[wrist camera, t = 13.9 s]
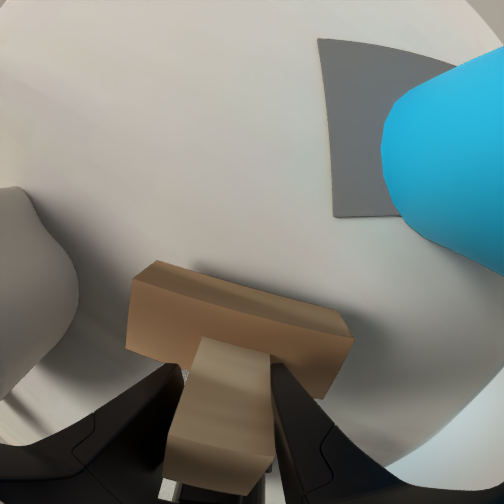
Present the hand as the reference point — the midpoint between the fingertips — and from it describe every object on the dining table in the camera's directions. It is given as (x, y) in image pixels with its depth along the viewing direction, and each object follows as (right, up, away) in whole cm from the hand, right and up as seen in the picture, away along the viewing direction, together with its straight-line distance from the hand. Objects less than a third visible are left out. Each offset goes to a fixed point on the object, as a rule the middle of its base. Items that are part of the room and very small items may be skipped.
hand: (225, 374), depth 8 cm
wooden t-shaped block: (0, 0, +4) cm, 4 cm away
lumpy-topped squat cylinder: (-16, +2, +6) cm, 17 cm away
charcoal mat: (+11, +10, +2) cm, 15 cm away
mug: (+12, +7, +3) cm, 14 cm away
